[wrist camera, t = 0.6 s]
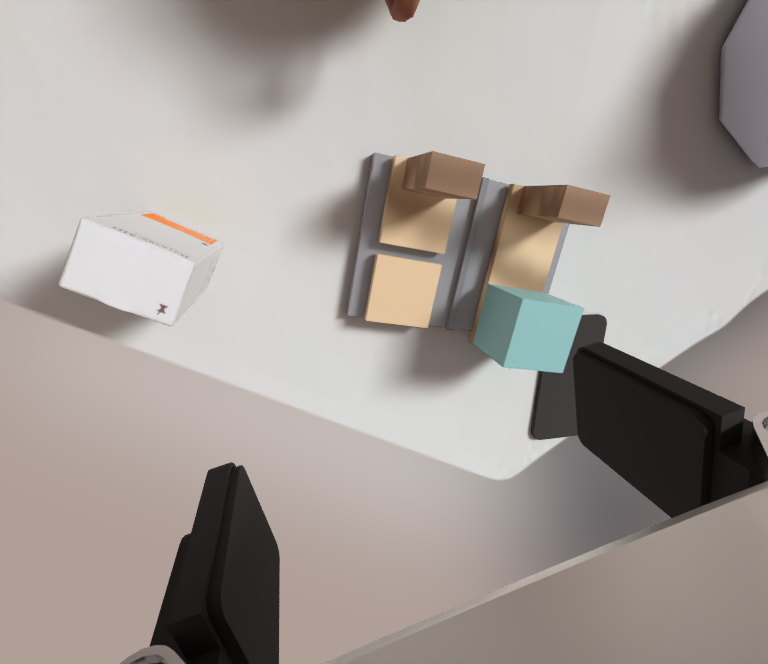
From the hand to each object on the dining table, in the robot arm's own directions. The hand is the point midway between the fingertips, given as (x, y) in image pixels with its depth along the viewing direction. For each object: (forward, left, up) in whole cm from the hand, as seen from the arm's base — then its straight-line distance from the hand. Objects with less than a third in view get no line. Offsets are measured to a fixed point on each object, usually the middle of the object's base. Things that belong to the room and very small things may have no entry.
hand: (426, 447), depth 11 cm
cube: (+2, +18, -26) cm, 32 cm away
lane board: (-3, +13, -28) cm, 31 cm away
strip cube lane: (-3, +18, -27) cm, 32 cm away
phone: (+8, +29, -29) cm, 42 cm away
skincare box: (0, -12, -28) cm, 31 cm away
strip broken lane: (-7, +7, -27) cm, 28 cm away
